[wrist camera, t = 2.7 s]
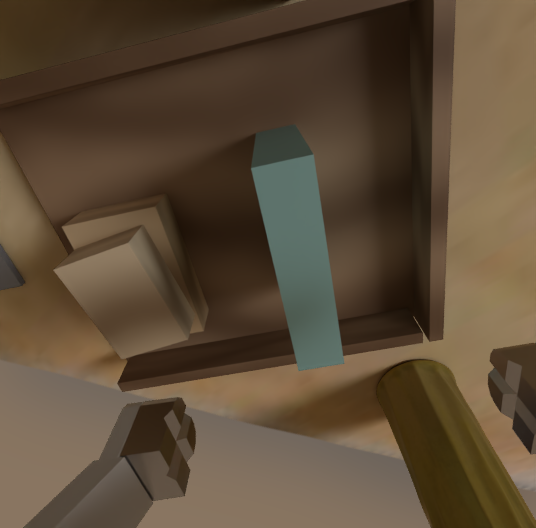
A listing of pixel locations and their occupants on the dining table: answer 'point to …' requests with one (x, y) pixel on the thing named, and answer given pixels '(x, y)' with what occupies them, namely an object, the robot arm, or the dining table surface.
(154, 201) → the offcut low
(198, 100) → the brown wooden tray
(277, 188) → the teal rectangular block
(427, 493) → the vase
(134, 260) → the offcut top
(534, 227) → the dining table surface
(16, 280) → the mat
